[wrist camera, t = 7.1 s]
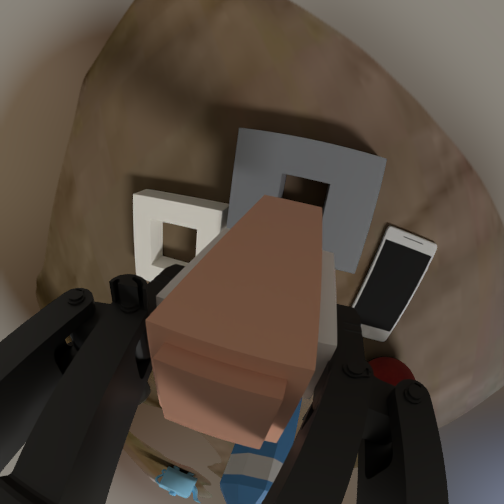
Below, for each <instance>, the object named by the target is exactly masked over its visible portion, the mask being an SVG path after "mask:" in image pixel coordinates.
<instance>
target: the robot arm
mask: <svg viewBox="0 0 504 504" xmlns="http://www.w3.org/2000/svg"><path fill="white" fill-rule="evenodd" d="M229 230H230V229H229V228H225V229H224V230H222V231H221V232H220V233H219V234H218V235H217V236H216V237H215V238H214V239H213V240H212V241H211V242H210V243H209V244H208V245H207V246H206V247H205V248H204V249H203V250H202V251H201V252H200V253H199V254H198V255H197V256H196V257H195V258H193V259H192V260H191V261H190V262H189V263H188V264H187V265H186V266H182V265H179V264H174V265H171V266H169V267H166V268H165V269H164V270H163V271H162V272H161V273H159V275H157V276H156V277H155V278H154V280H152V281H151V282H149V283H148V284H147V283H146V280H145V279H143V278H142V277H140V276H137V275H132V274H125V275H120V276H117V277H115V278H113V279H112V280H110V281H109V283H110V289H111V295H112V301H113V302H112V304H106V303H100V302H94V299H93V295H92V293H91V292H90V291H89V290H87V289H84V288H75V289H71V290H69V291H67V292H65V293H64V294H62V295H61V296H59V297H58V298H57V299H55V300H54V301H53V302H51V303H50V304H48V305H47V306H46V307H44V308H43V309H42V310H40V311H39V312H38V313H36V314H35V315H34V316H32V317H31V318H30V319H29V320H27V321H26V322H25V323H23V324H22V325H21V326H20V327H18V328H17V329H16V330H15V331H13V332H12V333H11V334H9V335H8V336H7V337H6V338H5V339H3V340H2V341H1V342H0V472H1V471H2V470H3V469H4V467H5V466H6V465H7V464H8V463H9V461H10V460H11V459H12V458H13V457H14V455H15V454H16V453H17V452H18V451H19V449H20V448H21V447H22V446H23V445H24V444H25V446H24V447H23V450H22V452H21V454H20V456H19V458H18V461H17V463H16V465H15V467H14V470H13V471H12V473H11V474H9V475H8V476H2V477H0V504H105V503H106V499H107V495H108V492H109V489H110V486H111V483H112V479H113V476H114V473H115V470H116V467H117V464H118V461H119V458H120V455H121V451H122V449H123V446H124V443H125V440H126V437H127V434H128V432H129V429H130V426H131V423H132V420H133V418H134V415H135V412H136V409H137V407H138V405H140V404H141V403H142V402H144V401H145V400H146V399H147V397H148V396H149V394H150V387H149V385H148V383H147V381H148V378H149V376H150V373H151V371H152V362H151V356H150V350H149V343H148V336H147V329H146V321H145V320H146V319H147V318H148V317H149V315H150V314H151V313H152V312H153V311H154V310H155V309H156V308H157V307H158V306H159V304H160V303H161V302H162V301H163V300H164V299H165V298H166V297H167V296H168V295H169V293H170V292H171V291H172V290H173V289H174V288H175V287H176V286H177V285H178V284H179V283H180V282H181V281H182V279H183V278H184V277H185V276H186V275H187V274H188V273H189V272H190V271H191V270H192V269H193V268H194V267H195V266H196V265H197V264H198V262H199V261H200V260H201V259H202V258H203V257H204V256H205V255H206V254H207V253H208V252H209V251H210V250H211V249H212V248H213V247H214V246H215V245H216V244H217V243H218V242H219V240H220V239H221V238H222V237H223V236H224V235H225V234H226V233H227V232H228V231H229ZM69 335H70V336H71V339H72V341H71V342H70V343H68V344H67V343H66V341H65V339H66V338H67V337H68V336H69ZM313 393H314V396H313V402H312V404H311V406H310V407H309V409H308V411H307V412H306V414H305V416H304V417H303V419H302V420H304V421H303V423H302V425H301V427H300V430H299V432H298V434H297V436H296V438H295V441H294V443H293V445H292V447H291V449H290V451H289V453H288V455H287V457H286V459H285V461H284V463H283V465H282V467H281V469H280V471H279V473H278V475H277V477H276V478H275V480H274V482H273V484H272V486H271V487H270V489H269V491H268V493H267V495H266V496H265V498H264V500H263V501H262V503H261V504H341V503H342V501H343V498H344V495H345V492H346V490H347V487H348V484H349V481H350V478H351V474H352V471H353V468H354V465H355V461H356V458H357V454H358V486H357V487H358V488H357V504H449V502H448V490H447V480H446V474H445V473H446V472H445V465H444V458H443V452H442V447H441V441H440V436H439V431H438V427H437V422H436V418H435V414H434V409H433V405H432V402H431V398H430V395H429V392H428V390H427V389H426V388H425V387H424V385H423V384H421V383H420V382H418V381H416V380H412V379H404V380H402V381H400V382H398V384H397V385H396V386H394V385H392V384H389V383H387V382H384V381H382V380H380V379H378V378H377V377H375V376H374V373H373V369H372V367H371V365H370V364H369V363H368V362H367V361H366V360H365V356H364V346H363V337H362V329H361V321H360V316H359V314H358V313H357V311H356V310H355V308H353V307H348V306H344V305H339V304H336V280H335V263H334V253H332V252H328V251H324V250H322V277H321V301H320V318H319V333H318V346H317V357H316V368H315V372H314V374H313V376H312V378H311V380H310V382H309V384H308V386H307V388H306V390H305V392H304V394H303V396H302V398H306V399H310V398H311V396H312V394H313ZM25 442H26V443H25Z"/></svg>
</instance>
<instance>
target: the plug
mask: <svg viewBox="0 0 504 504" xmlns="http://www.w3.org/2000/svg"><path fill="white" fill-rule="evenodd" d="M321 277H322V207H318V206H314V205H310V204H305V203H301V202H296V201H292V200H287V199H283V198H278V197H273V196H268V195H264V196H263V197H262V198H261V199H260V200H259V201H258V202H257V203H256V204H255V205H254V206H253V207H252V208H251V209H250V210H249V211H248V212H247V213H246V214H245V215H244V216H243V217H242V218H241V219H240V220H239V221H238V222H237V223H236V224H235V225H234V226H233V227H232V228H231V229H230V230H229V231H228V232H227V233H226V234H225V235H224V236H223V237H222V238H221V239H220V240H219V242H218V243H217V244H216V245H215V246H214V247H213V248H212V249H211V250H210V251H209V252H208V253H207V254H206V255H205V256H204V257H203V258H202V259H201V260H200V261H199V262H198V264H197V265H196V266H195V267H194V268H193V269H192V270H191V271H190V272H189V273H188V274H187V275H186V276H185V277H184V278H183V279H182V281H181V282H180V283H179V284H178V285H177V286H176V287H175V288H174V289H173V290H172V291H171V292H170V293H169V295H168V296H167V297H166V298H165V299H164V300H163V301H162V302H161V303H160V304H159V306H158V307H157V308H156V309H155V310H154V311H153V312H152V313H151V314H150V315H149V317H148V318H147V319H146V320H145V321H146V329H147V336H148V343H149V350H150V356H151V362H152V368H153V373H154V378H155V384H156V388H157V393H158V398H159V402H160V406H161V407H162V409H163V413H164V417H165V418H166V419H168V420H170V421H173V422H175V423H178V424H180V425H183V426H185V427H188V428H191V429H193V430H196V431H199V432H201V433H204V434H207V435H210V436H213V437H216V438H219V439H223V440H226V441H229V442H233V443H236V444H240V445H244V446H247V447H251V448H255V449H259V450H260V448H261V446H262V444H263V442H264V441H268V442H273V443H277V441H278V440H279V438H280V436H281V434H282V433H283V431H284V429H285V427H286V426H287V424H288V422H289V420H290V419H291V417H292V415H293V413H294V411H295V409H296V408H297V406H298V404H299V402H300V400H301V398H302V396H303V394H304V392H305V390H306V388H307V386H308V384H309V382H310V380H311V378H312V376H313V374H314V372H315V368H316V357H317V346H318V333H319V318H320V301H321Z"/></svg>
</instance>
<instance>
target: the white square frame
mask: <svg viewBox="0 0 504 504" xmlns="http://www.w3.org/2000/svg"><path fill="white" fill-rule="evenodd" d="M228 210H229V204H227V203H222V202H217V201H212V200H207V199H201V198H196V197H191V196H185V195H180V194H174V193H168V192H163V191H157V190H151V189H145V190H142V191H140V192H137V193H134V194H133V227H134V249H135V264H136V275H137V276H140V277H142V278H143V279H145V280H147V281H150V282H151V281H152V280H154V278H155V277H156V276H157V275H159V273H161V272H162V271H163V270H164V269H165V268H166V267H169V266H171V265H174V264H179V265H182V266H186V265H187V264H188V263H187V262H183V261H180V260H176V259H173V258H169V257H166V256H163V222H167V223H171V224H176V225H180V226H184V227H189V228H193V229H197V241H196V256H197V255H198V254H199V253H200V252H201V251H202V250H203V249H204V248H205V247H206V246H207V245H208V244H209V243H210V242H211V241H212V240H213V239H214V238H215V237H216V236H217V235H218V234H219V233H220V232H221V231H222V230H224V229H225V228H226V227H227V219H228Z"/></svg>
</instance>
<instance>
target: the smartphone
mask: <svg viewBox="0 0 504 504" xmlns="http://www.w3.org/2000/svg"><path fill="white" fill-rule="evenodd" d="M436 249H437V245H436V244H435V243H433V242H431V241H428V240H426V239H424V238H421V237H419V236H416V235H414V234H411V233H409V232H406V231H404V230H401V229H399V228H396V227H393V226H391V225H389V226H388V227H387V229H386V231H385V233H384V236H383V238H382V241H381V243H380V246H379V248H378V250H377V253H376V255H375V257H374V260H373V262H372V264H371V267H370V269H369V271H368V273H367V275H366V278H365V280H364V282H363V284H362V286H361V288H360V290H359V292H358V294H357V296H356V298H355V300H354V302H353V304H352V306H351V307H353V308H355V310H356V311H357V313H358V314H359V316H360V321H361V329H362V337H366V338H370V339H374V340H377V341H381V342H384V341H386V339H387V338H388V336H389V335H390V333H391V332H392V330H393V329H394V327H395V326H396V324H397V322H398V321H399V319H400V318H401V316H402V314H403V313H404V311H405V309H406V307H407V306H408V304H409V302H410V300H411V299H412V297H413V295H414V293H415V292H416V290H417V288H418V286H419V284H420V282H421V280H422V278H423V276H424V274H425V273H426V271H427V269H428V266H429V264H430V262H431V260H432V258H433V256H434V254H435V252H436Z"/></svg>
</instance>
